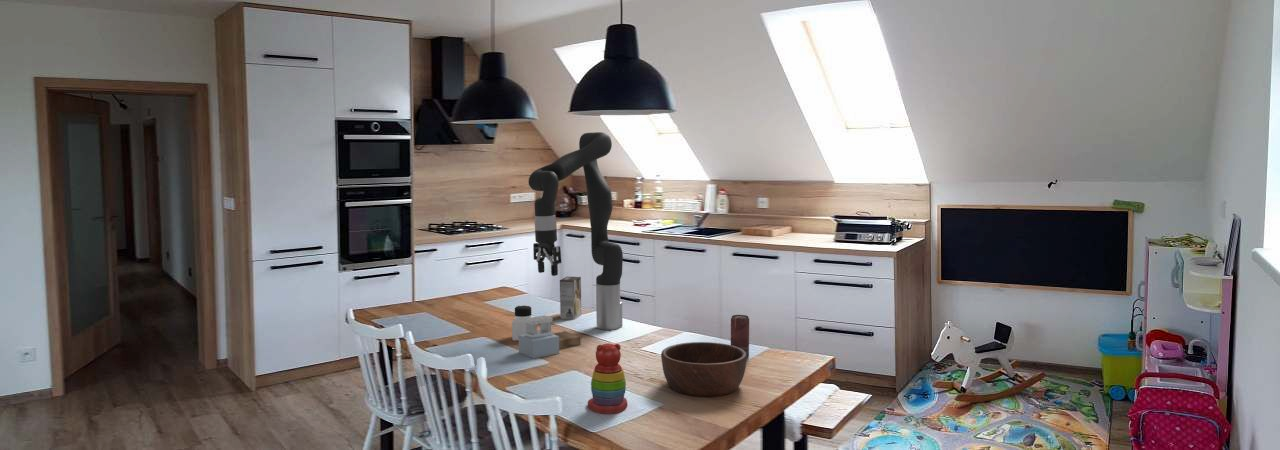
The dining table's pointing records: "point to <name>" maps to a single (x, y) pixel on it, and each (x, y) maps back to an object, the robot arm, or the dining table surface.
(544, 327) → the housing
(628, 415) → the dining table surface
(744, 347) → the can
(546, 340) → the stand
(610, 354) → the stacking bear
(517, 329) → the medicine bottle
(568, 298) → the coffee box
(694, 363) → the wooden bowl
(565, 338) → the stand
